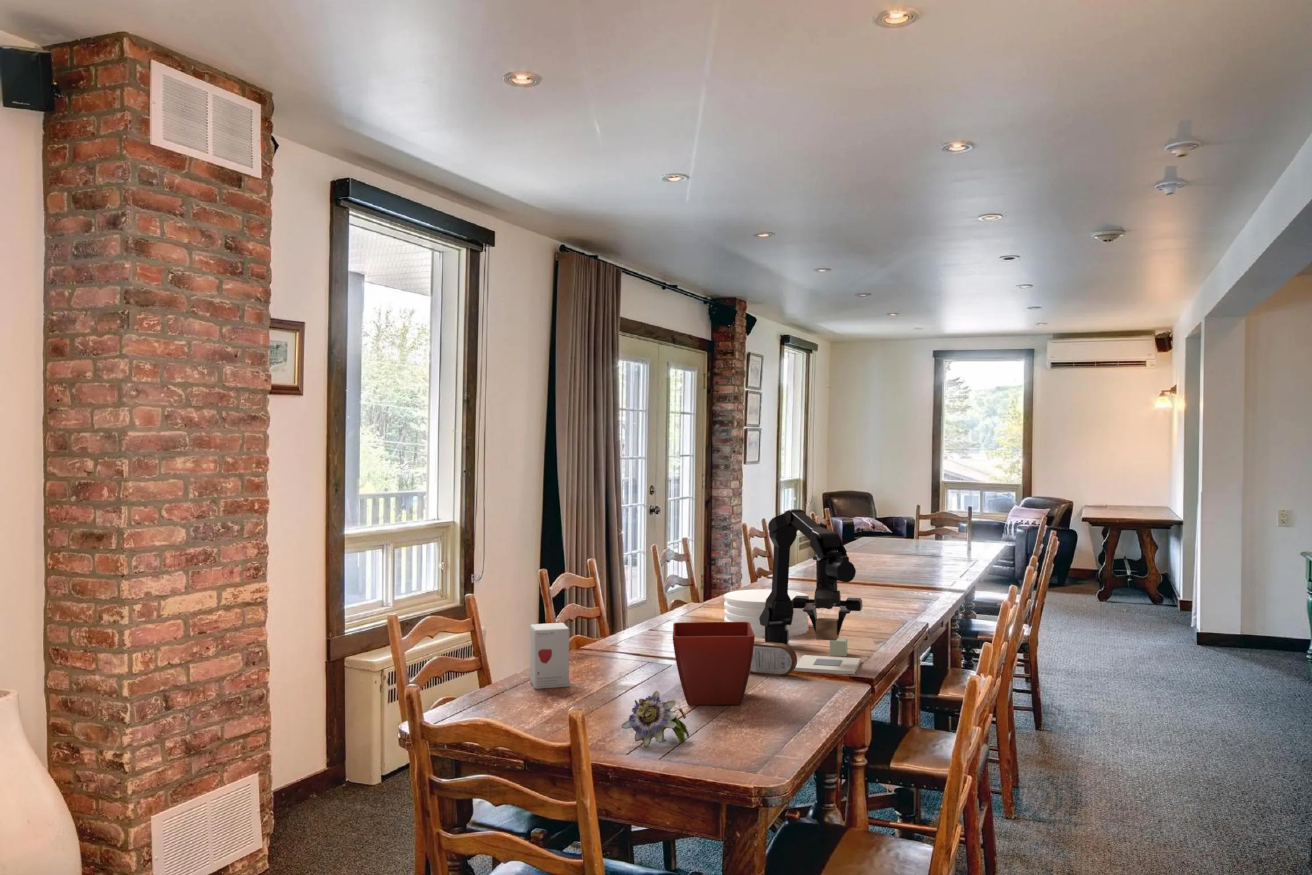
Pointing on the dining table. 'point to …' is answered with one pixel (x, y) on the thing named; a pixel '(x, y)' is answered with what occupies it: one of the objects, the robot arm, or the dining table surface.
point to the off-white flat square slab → (827, 664)
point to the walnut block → (826, 629)
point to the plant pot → (713, 660)
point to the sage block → (838, 647)
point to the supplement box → (549, 655)
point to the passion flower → (655, 720)
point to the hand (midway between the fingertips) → (827, 634)
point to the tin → (773, 659)
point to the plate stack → (760, 610)
